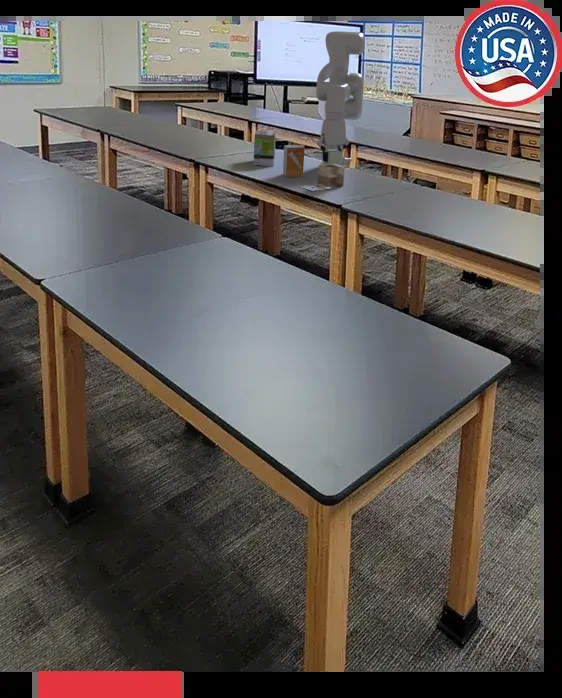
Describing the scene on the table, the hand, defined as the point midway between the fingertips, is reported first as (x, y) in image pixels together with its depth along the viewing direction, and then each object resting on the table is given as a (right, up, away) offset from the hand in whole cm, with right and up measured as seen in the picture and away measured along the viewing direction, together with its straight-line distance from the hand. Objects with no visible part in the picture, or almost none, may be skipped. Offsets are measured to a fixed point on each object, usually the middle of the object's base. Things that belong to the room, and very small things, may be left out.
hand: (332, 160), depth 288 cm
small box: (-16, -2, +19) cm, 25 cm away
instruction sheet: (-7, -12, -3) cm, 14 cm away
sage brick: (0, -1, 0) cm, 1 cm away
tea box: (-30, +11, +44) cm, 54 cm away
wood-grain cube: (0, -9, +4) cm, 10 cm away
